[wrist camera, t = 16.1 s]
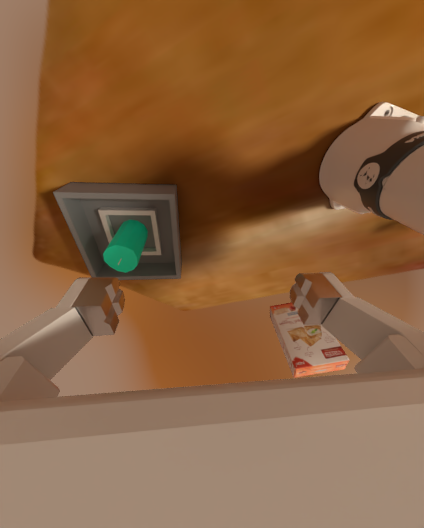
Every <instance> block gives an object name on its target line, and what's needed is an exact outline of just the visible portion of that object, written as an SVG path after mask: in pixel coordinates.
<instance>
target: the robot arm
mask: <svg viewBox="0 0 424 528" xmlns="http://www.w3.org/2000/svg"><path fill="white" fill-rule="evenodd" d="M385 112H386V114H385ZM384 114H385V115H384ZM319 181H320V186H321V188H322V190H323V192H324V193H325V194H326V195H327V196H328V197H329V200H330V205H331V207H332V208H334V209H343V208H348V209H350V210H352V211H354V212H356V213H359V214H363V213H369V212H372V213H373V214H375V215H377V216H380V217H383V218H386V219H390V220H396V221H398V222H399V223H401V224H403V225H405V226H407V227H409V228H411V229H413V230H415V231H417V232H419V233H421V234H423V235H424V116H419V115H417V114H414V113H412V112H409V111H407V110H404V109H402V108H400V107H397V106H395V105H392V104H390V103H387V102H380V103H378V104H377V105H375V106H374V107H373V108H372V109H371V110H370V111H369V112H368V113H367V115H366V116H365V117H364V118H363V119H361V120H360V121H359V122H357V123H355V124H354V125H352V126H351V127H349V128H348V129H346V130H345V131H344V132H343V133H342V134H341V135H339V137H338V138H337V139H336V140H335V141H334V142H333V143H332V145H331V146H330V148H329V149H328V151H327V153H326V154H325V156H324V159H323V161H322V164H321V167H320V173H319ZM295 281H296V284H294V285H293V286H292V287H291V290H290V299H291V302H292V304H293V306H295V307H296V308H298V315H299V317H300V319H301V321H302V322H303V324H304V325H321V326H323V327H324V328H325V329H326V330H327V331H328V332H330V333H331V334H332V335H333V336H334V337H336V338H337V339H338V340H339V341H341V342H342V343H343V344H344V345H345V346H346V347H347V348H349V349H350V350H351V351H352V352H353V353H354V354H356V355H357V356H358V357H359V358H360V359H362V360H361V361H360V362H359V363H358V364H357V365H356V366H355V370H356V372H357V373H358V374H346V375H332V376H319V377H306V378H295V379H282V380H281V379H280V380H268V381H255V382H242V383H229V384H218V385H217V384H216V385H203V386H191V387H178V388H166V389H152V390H140V391H126V392H113V393H101V394H88V395H75V396H62V397H57V396H58V394H59V392H60V390H59V388H58V387H57V386H56V385H55V384H54V383H52V382H51V381H50V380H51V379H52V378H53V377H54V376H55V375H56V373H58V372H59V371H60V370H61V368H63V367H64V365H66V364H67V363H68V362H69V361H70V360H71V359H72V357H74V355H76V354H77V353H78V351H80V349H82V347H83V346H85V344H87V342H89V341H90V340H91V338H93V337H92V336H101V335H114V334H115V331H116V328H117V325H118V323H119V319H118V317H117V316H118V315H119V314H120V313H122V311H123V308H124V302H125V299H124V294H123V291H121V290H120V289H119V286H120V282H119V279H118V278H116V277H92V278H78V279H76V280H75V281H74V283H73V284H72V285H71V287H70V288H69V290H68V291H67V292H66V294H65V295H64V296H63V298H62V299H61V301H60V302H59V304H58V305H57V306H56V308H51V309H49V310H47V311H46V312H44V313H43V314H41V315H39V316H37V317H36V318H34V319H33V320H31V321H29V322H28V323H26V324H24V325H23V326H21V327H19V328H18V329H16V330H15V331H13V332H11V333H10V334H8V335H6V336H5V337H3V338H1V339H0V528H424V332H422V331H420V330H418V329H416V328H415V327H413V326H411V325H409V324H407V323H405V322H403V321H402V320H400V319H398V318H396V317H394V316H392V315H390V314H388V313H386V312H385V311H383V310H381V309H379V308H377V307H375V306H373V305H372V304H370V303H368V302H366V301H364V300H362V299H360V298H358V297H354V296H353V295H352V294H351V293H350V292H349V291H348V289H347V288H346V287H345V286H344V285H343V284H342V283H341V282H340V281H339V280H338V278H337V277H336V276H335V275H334V274H333V273H331V272H322V273H299V274H298V275H297V276H296V278H295Z"/></svg>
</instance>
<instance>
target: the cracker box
mask: <svg viewBox="0 0 424 528" xmlns="http://www.w3.org/2000/svg"><path fill="white" fill-rule="evenodd" d="M270 317H271V320H272V323H273V325H274V328H275V331H276V333H277V336H278V338H279V341H280V344H281V346H282V348H283V351H284V354H285V356H286V359H287V361H288V364H289V367H290V369H291V372H292V375H293V377H300V376H305V375H311V374H318V373H324V372H331V371H336V370H343V369H345V367H346V365H347V363H348V361H349V358H348V357H347V355H346V354H345V352H344V350H343V349H342V347H341V346H340V344H339V343H338V341H337V340H336V338H335V337H334V336H333V335H332V334H331V333H330V332H328V331H327V330H326V329H325V328H324V327H323V326H321V325H304V324H303V322H302V321H301V319H300V317H299V315H298V308H296V307H295V306H293V304H292V303H286V304H281V305H275V306H271V307H270Z"/></svg>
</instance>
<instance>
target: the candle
mask: <svg viewBox="0 0 424 528" xmlns="http://www.w3.org/2000/svg"><path fill="white" fill-rule="evenodd" d="M147 237H148V230H147V229H146V227H145V226H144V224H142V223H140V222H139V221H136V220H127V221H124V222H123V223H122V225H121V226H120V228H119V230H118V231H117V233H116V234H115V236H114V237H113V239H112V241H111V242H110V244H109V245H108V247H107V248H106V250H105V251H104V253H103V257H104V261H105V262H106V263H107V264H108V265H109V266H110V267H112V268H113V269H115V270H117V271H120V272H125V273H126V272H129V271H132V270H134V269H135V267H136V266H137V265H138V262H139V259H140V257H141V254H142V251H143V248H144V245H145V243H146V240H147Z"/></svg>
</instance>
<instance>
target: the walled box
mask: <svg viewBox="0 0 424 528" xmlns="http://www.w3.org/2000/svg"><path fill="white" fill-rule="evenodd" d="M53 194H54V196H55V198H56V200H57V202H58V205H59V207H60V209H61V211H62V213H63V216H64V218H65V220H66V222H67V224H68V227H69V229H70V231H71V233H72V235H73V237H74V240H75V242H76V244H77V246H78V248H79V251H80V253H81V255H82V257H83V259H84V261H85V264H86V266H87V268H88V270H89V272H90V275H91V277H116V278H118V279H119V280H138V279H180V278H181V267H182V259H181V244H180V229H179V214H178V198H177V185H170V184H126V183H82V182H70V183H68V184H67V185H65V186H63V187H61V188H59V189H58V190H56V191H54V192H53ZM127 220H136V221H139V222H140V223H142V224H144V226H145V227H146V229H147V230H148V237H147V240H146V243H145V245H144V248H143V251H142V254H141V257H140V259H139V262H138V265H137V266H136V267H135V269H134V270H132V271H129V272H126V273H125V272H120V271H117V270H115V269H113V268H112V267H110V266H109V265H108V264H107V263H106V262H105V261H104V257H103V253H104V251H105V250H106V248H107V247H108V245H109V244H110V242H111V241H112V239H113V237H114V236H115V234H116V233H117V231H118V230H119V228H120V226H121V225H122V223H123V222H124V221H127Z"/></svg>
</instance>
